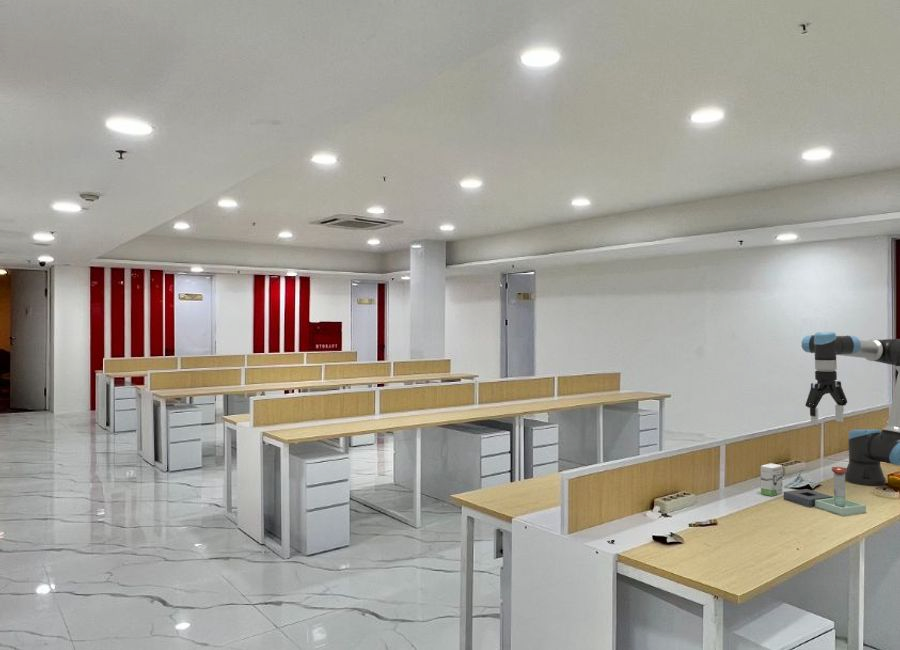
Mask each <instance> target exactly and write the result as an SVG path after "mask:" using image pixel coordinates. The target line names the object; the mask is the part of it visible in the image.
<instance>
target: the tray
mask: <svg viewBox="0 0 900 650" xmlns="http://www.w3.org/2000/svg"><path fill="white" fill-rule="evenodd" d="M845 500H846V507H844V508H841V507H838V506H835V505H834V497H833V498H828V499H820V500H815V507H814V508H816V509H818V510H822V511H825V512H828V513H831V514H835V515H838V516H840V517H846V516H848V517H849V516H852V515H854V514H855V515H860V514H859V513H862V514H866V513H867V505H866V504H863V503H860V502H855V501H853V500H848V499H846V498H845ZM855 515H854V516H855Z"/></svg>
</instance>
